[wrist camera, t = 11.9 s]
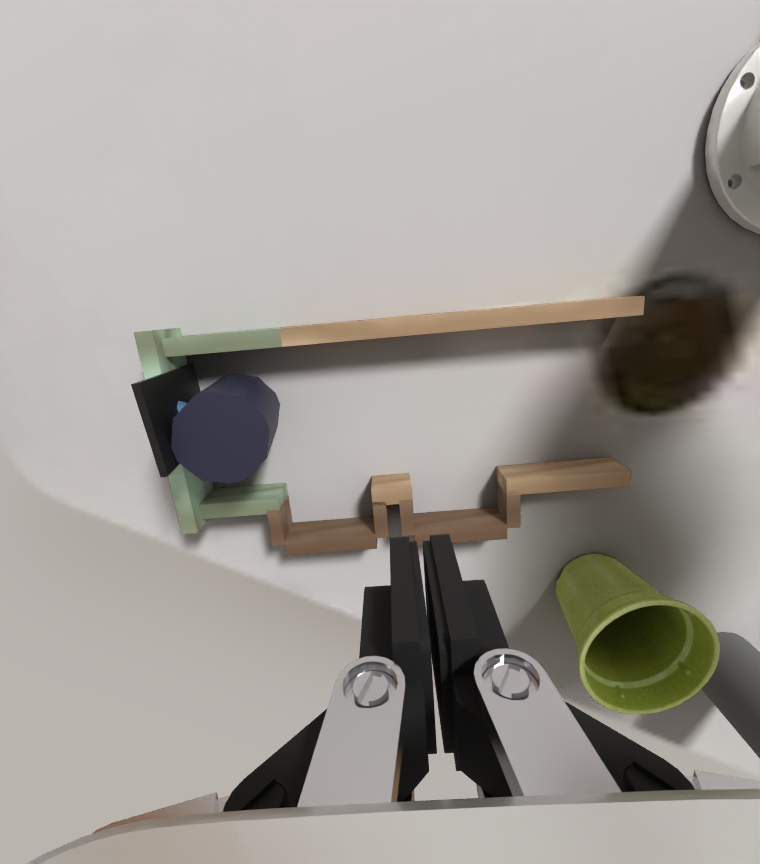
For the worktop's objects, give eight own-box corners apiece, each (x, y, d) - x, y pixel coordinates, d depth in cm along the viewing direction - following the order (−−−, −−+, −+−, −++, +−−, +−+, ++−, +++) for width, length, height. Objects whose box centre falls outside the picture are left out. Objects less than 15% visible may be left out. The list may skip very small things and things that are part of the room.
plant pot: (624, 516, 36) (698, 579, 27) (659, 602, 38) (737, 685, 30) (519, 562, 37) (559, 636, 29) (559, 642, 39) (606, 733, 31)
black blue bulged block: (180, 435, 34) (116, 483, 24) (187, 362, 32) (122, 380, 22) (278, 450, 35) (256, 502, 25) (289, 380, 33) (270, 405, 24)
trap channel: (163, 329, 32) (133, 332, 28) (620, 288, 31) (655, 285, 27) (210, 541, 36) (190, 569, 33) (606, 511, 36) (633, 536, 32)
